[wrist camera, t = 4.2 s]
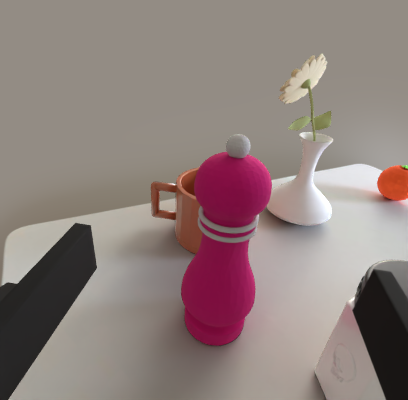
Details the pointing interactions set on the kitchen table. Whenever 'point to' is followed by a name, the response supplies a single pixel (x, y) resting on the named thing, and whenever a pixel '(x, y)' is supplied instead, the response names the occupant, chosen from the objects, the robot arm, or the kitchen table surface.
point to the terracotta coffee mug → (181, 209)
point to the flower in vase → (304, 154)
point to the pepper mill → (225, 243)
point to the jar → (354, 349)
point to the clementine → (394, 183)
